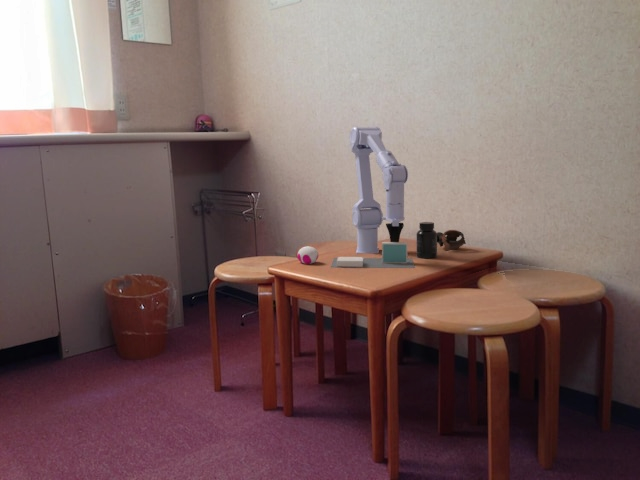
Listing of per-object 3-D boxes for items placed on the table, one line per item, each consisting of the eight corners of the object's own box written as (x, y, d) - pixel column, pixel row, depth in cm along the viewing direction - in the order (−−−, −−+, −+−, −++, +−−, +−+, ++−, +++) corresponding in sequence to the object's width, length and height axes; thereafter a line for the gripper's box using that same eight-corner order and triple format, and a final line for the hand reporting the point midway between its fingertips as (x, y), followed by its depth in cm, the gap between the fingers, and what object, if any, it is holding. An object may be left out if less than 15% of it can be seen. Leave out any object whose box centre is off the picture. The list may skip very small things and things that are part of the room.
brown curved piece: (468, 249, 208) (470, 232, 202) (457, 264, 202) (459, 247, 197) (438, 239, 213) (439, 221, 208) (426, 253, 208) (428, 235, 202)
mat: (334, 259, 191) (334, 257, 190) (412, 259, 188) (412, 258, 188) (330, 268, 176) (330, 267, 176) (414, 269, 173) (415, 267, 173)
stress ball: (296, 273, 185) (287, 258, 181) (309, 256, 189) (300, 241, 185) (313, 275, 180) (304, 260, 176) (326, 258, 184) (317, 243, 180)
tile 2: (381, 261, 183) (382, 242, 181) (406, 261, 182) (407, 242, 181) (381, 263, 181) (382, 243, 180) (407, 263, 180) (407, 243, 179)
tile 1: (338, 256, 182) (336, 260, 176) (363, 256, 181) (362, 260, 175) (338, 262, 182) (336, 266, 176) (363, 262, 182) (362, 267, 175)
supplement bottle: (431, 255, 194) (432, 221, 192) (440, 259, 188) (441, 223, 186) (413, 256, 193) (413, 221, 191) (421, 260, 186) (421, 224, 184)
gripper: (382, 201, 188) (381, 241, 190) (382, 205, 173) (382, 249, 176) (403, 201, 187) (403, 241, 189) (405, 205, 173) (405, 249, 175)
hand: (394, 245), depth 182 cm, fingers closed
